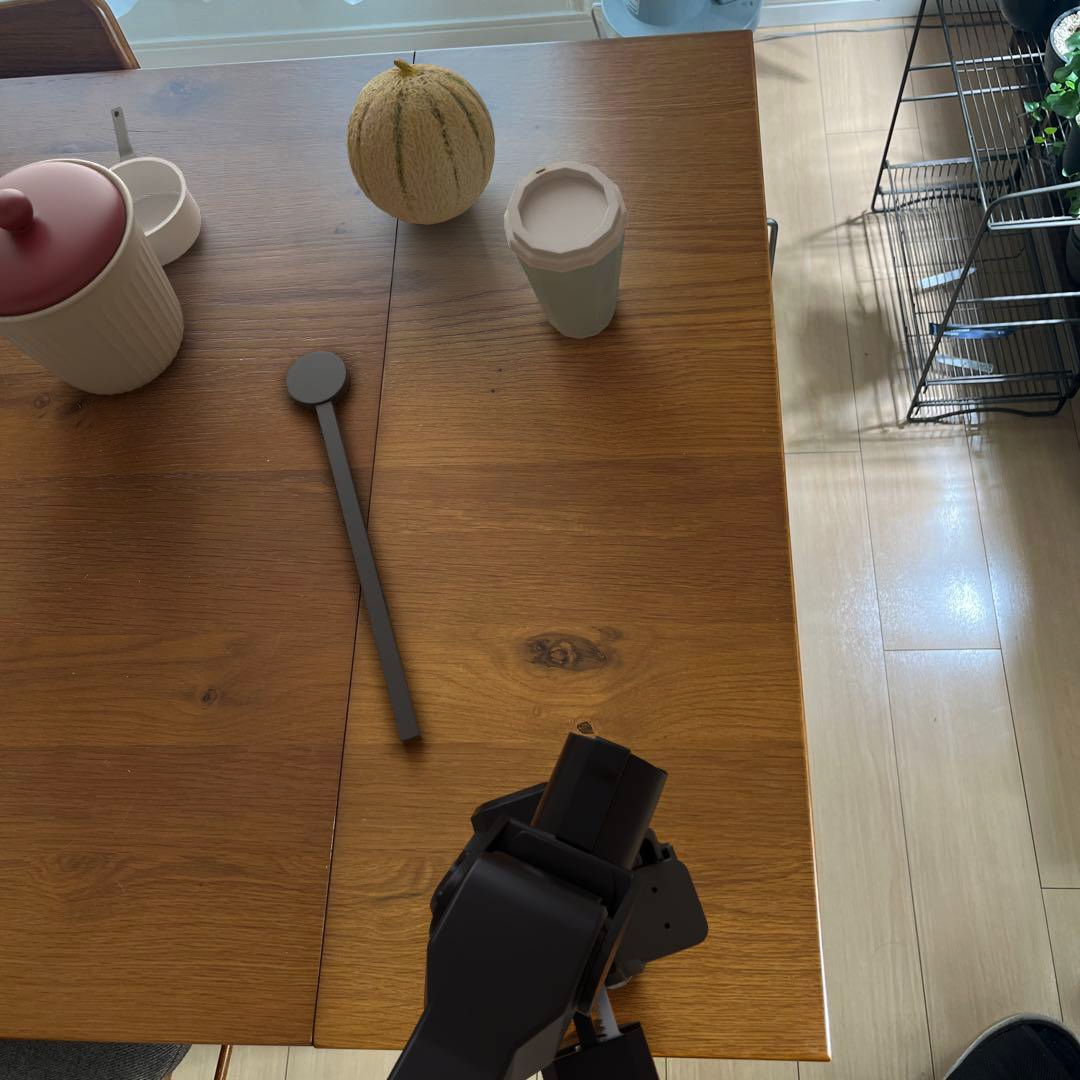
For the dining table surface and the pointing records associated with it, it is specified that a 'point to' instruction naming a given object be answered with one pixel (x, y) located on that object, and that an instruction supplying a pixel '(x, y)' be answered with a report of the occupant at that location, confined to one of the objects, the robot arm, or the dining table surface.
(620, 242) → the disposable coffee cup
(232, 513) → the dining table surface
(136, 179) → the saucepan
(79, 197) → the canister
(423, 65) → the cantaloupe
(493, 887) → the robot arm
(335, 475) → the spoon
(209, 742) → the dining table surface
